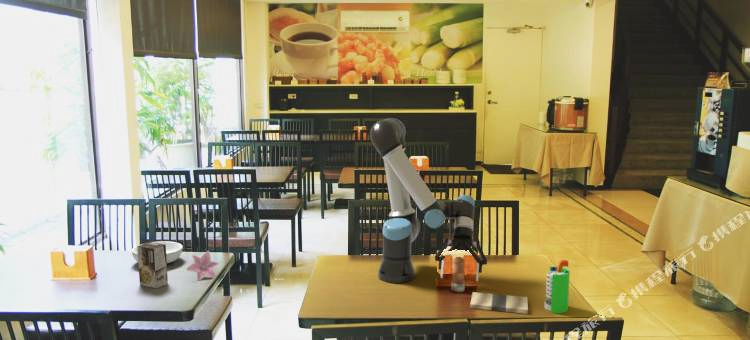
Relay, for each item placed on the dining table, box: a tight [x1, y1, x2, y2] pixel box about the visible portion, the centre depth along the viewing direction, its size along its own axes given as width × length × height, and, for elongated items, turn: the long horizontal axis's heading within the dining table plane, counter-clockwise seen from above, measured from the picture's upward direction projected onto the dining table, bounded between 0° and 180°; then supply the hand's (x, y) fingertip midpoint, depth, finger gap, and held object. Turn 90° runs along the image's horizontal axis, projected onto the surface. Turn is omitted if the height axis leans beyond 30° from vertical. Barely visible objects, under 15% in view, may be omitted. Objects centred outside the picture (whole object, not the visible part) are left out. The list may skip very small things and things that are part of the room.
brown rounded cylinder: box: [450, 256, 466, 293], centre depth 223 cm, size 5×5×13 cm
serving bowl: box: [131, 240, 184, 264], centre depth 252 cm, size 21×21×7 cm
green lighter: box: [544, 259, 570, 314], centre depth 205 cm, size 9×8×18 cm
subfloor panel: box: [469, 291, 529, 315], centre depth 210 cm, size 20×12×2 cm, turn 77°
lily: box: [186, 250, 219, 282], centre depth 235 cm, size 12×12×10 cm
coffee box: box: [136, 241, 169, 289], centre depth 225 cm, size 9×6×16 cm
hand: (459, 278), depth 221 cm, fingers open, 13 cm apart
